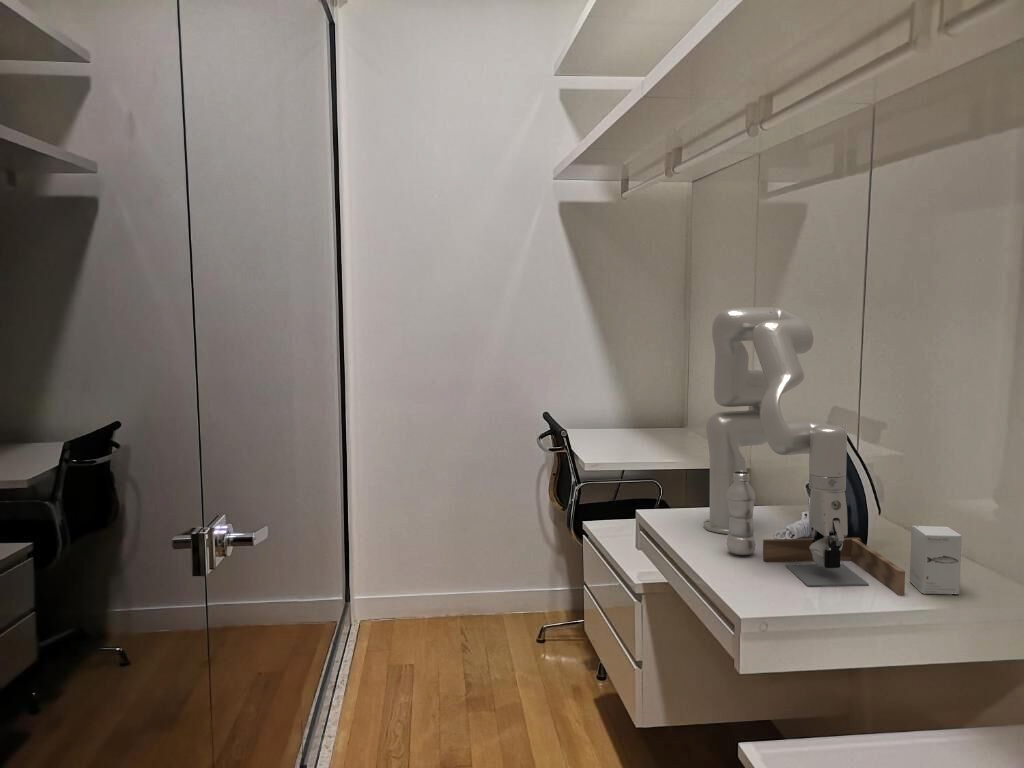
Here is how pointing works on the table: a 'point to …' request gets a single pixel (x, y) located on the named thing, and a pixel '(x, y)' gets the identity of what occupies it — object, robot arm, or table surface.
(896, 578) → the corner walls
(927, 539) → the supplement box
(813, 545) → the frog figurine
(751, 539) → the plastic bottle
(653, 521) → the table surface
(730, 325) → the robot arm
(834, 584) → the slate mat
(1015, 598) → the table surface
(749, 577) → the table surface
